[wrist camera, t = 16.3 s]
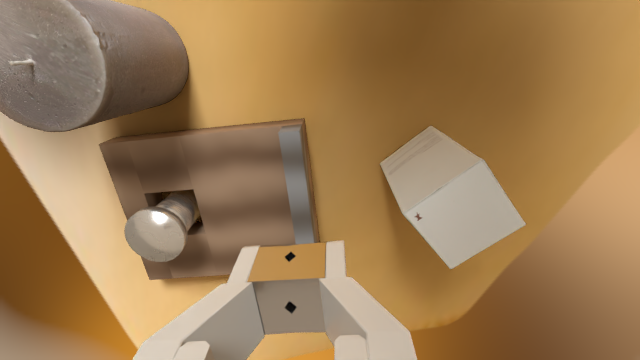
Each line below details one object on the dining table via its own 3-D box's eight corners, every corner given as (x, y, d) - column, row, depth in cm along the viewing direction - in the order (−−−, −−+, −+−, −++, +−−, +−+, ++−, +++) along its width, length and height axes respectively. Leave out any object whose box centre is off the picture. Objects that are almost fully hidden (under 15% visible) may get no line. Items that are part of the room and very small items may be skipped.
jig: (116, 137, 37) (77, 152, 31) (304, 118, 35) (299, 130, 30) (161, 265, 43) (136, 296, 38) (321, 254, 42) (319, 284, 36)
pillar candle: (141, 121, 36) (24, 164, 22) (76, 40, 33) (-107, 31, 19) (208, 75, 34) (127, 90, 20) (146, -16, 31) (-1, -72, 17)
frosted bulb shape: (157, 182, 39) (116, 213, 31) (204, 178, 38) (174, 208, 31) (170, 225, 41) (135, 263, 34) (216, 221, 41) (190, 259, 33)
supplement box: (413, 206, 39) (448, 273, 27) (377, 162, 37) (399, 213, 25) (466, 171, 37) (529, 226, 25) (432, 122, 35) (483, 157, 23)
